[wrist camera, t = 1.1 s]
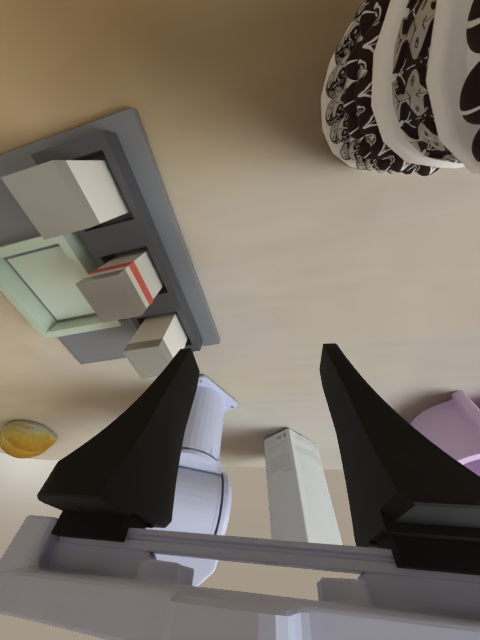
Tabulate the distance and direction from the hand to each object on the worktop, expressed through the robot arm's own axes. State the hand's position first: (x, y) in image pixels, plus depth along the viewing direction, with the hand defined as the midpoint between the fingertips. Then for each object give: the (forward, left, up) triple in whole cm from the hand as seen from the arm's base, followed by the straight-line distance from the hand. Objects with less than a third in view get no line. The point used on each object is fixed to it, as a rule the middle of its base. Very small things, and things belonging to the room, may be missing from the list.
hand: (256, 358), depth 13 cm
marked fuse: (-8, +7, -11) cm, 15 cm away
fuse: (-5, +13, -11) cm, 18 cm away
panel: (-13, +9, -12) cm, 19 cm away
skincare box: (-13, -30, -12) cm, 34 cm away
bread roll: (-52, -2, -12) cm, 53 cm away
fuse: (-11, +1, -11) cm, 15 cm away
